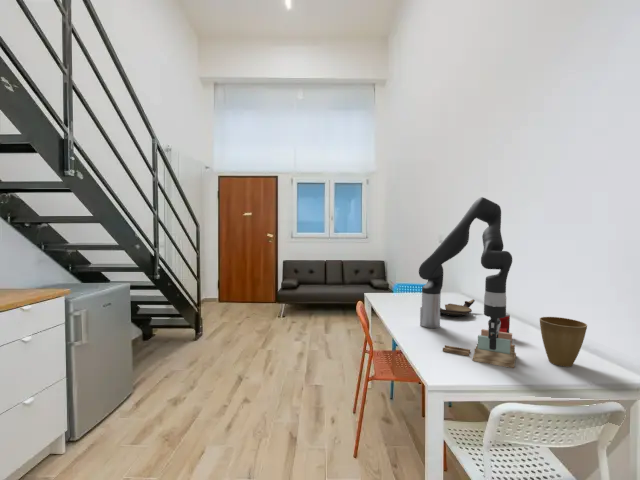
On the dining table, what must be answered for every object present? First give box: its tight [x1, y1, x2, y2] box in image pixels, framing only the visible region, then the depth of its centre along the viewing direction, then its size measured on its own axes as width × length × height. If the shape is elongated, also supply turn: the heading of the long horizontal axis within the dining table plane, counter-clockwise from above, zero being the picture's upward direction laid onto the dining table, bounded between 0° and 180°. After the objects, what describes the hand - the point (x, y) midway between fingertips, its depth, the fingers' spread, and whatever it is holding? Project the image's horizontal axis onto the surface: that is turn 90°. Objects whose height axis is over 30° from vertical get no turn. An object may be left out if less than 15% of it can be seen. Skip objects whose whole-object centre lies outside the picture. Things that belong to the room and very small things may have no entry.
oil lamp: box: [440, 299, 476, 317], centre depth 211 cm, size 22×30×8 cm
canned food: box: [499, 312, 511, 333], centre depth 169 cm, size 8×8×11 cm
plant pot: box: [539, 316, 588, 368], centre depth 136 cm, size 15×15×16 cm
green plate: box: [477, 334, 510, 354], centre depth 137 cm, size 11×2×8 cm, turn 59°
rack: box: [472, 343, 517, 369], centre depth 141 cm, size 14×15×4 cm
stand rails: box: [442, 344, 471, 357], centre depth 147 cm, size 10×4×1 cm, turn 59°
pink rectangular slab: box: [480, 328, 513, 347], centre depth 145 cm, size 11×2×8 cm, turn 59°
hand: (493, 346), depth 136 cm, fingers open, 8 cm apart
